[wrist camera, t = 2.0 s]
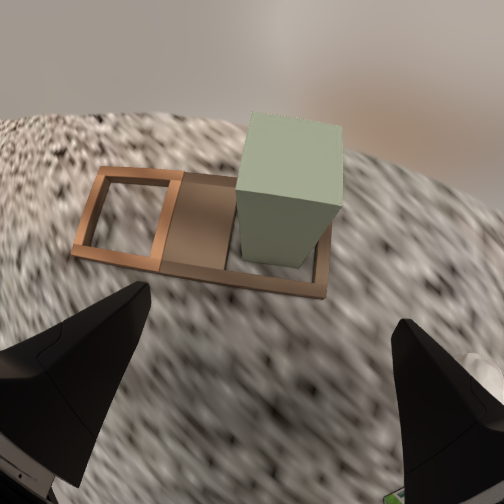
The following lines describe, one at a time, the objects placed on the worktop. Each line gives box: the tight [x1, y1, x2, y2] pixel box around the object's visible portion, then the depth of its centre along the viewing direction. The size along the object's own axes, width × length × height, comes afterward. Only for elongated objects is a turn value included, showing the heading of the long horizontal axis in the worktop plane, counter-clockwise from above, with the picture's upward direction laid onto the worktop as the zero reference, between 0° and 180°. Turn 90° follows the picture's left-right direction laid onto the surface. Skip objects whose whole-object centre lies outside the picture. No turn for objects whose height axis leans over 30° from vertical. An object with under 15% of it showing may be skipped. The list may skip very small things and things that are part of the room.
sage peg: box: [235, 112, 343, 269], centre depth 18 cm, size 4×4×12 cm
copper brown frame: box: [71, 166, 332, 300], centre depth 23 cm, size 9×22×1 cm, turn 81°
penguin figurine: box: [454, 353, 504, 405], centre depth 16 cm, size 6×8×12 cm
